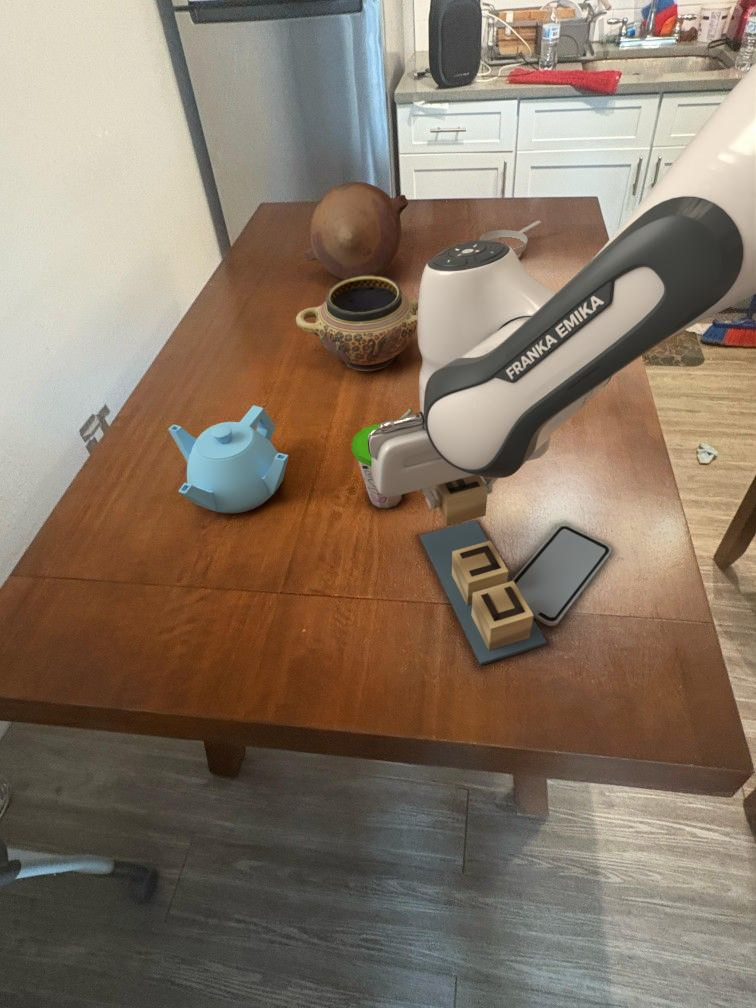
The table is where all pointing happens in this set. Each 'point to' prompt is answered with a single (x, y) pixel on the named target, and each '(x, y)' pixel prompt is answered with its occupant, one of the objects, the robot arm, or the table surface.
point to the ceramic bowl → (363, 321)
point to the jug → (356, 230)
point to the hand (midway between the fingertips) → (459, 497)
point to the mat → (441, 558)
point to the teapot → (232, 463)
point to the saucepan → (512, 234)
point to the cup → (364, 461)
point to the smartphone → (560, 573)
